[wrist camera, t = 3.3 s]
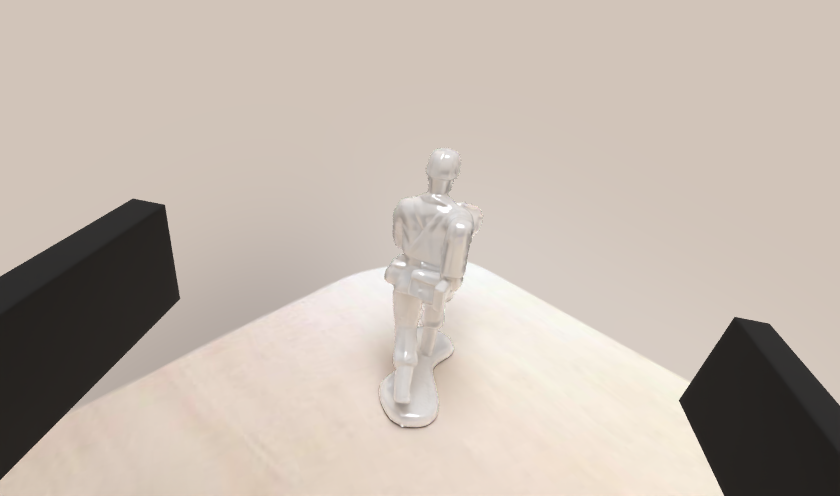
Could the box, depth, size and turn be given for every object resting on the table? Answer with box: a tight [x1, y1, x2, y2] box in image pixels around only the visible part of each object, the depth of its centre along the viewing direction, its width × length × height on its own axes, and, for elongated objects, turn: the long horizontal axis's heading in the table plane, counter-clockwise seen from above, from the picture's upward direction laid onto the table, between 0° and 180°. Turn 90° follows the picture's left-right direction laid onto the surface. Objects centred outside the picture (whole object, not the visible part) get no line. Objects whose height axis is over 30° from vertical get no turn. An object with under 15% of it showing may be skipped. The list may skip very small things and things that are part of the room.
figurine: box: [379, 148, 483, 427], centre depth 22 cm, size 5×9×12 cm, turn 177°
